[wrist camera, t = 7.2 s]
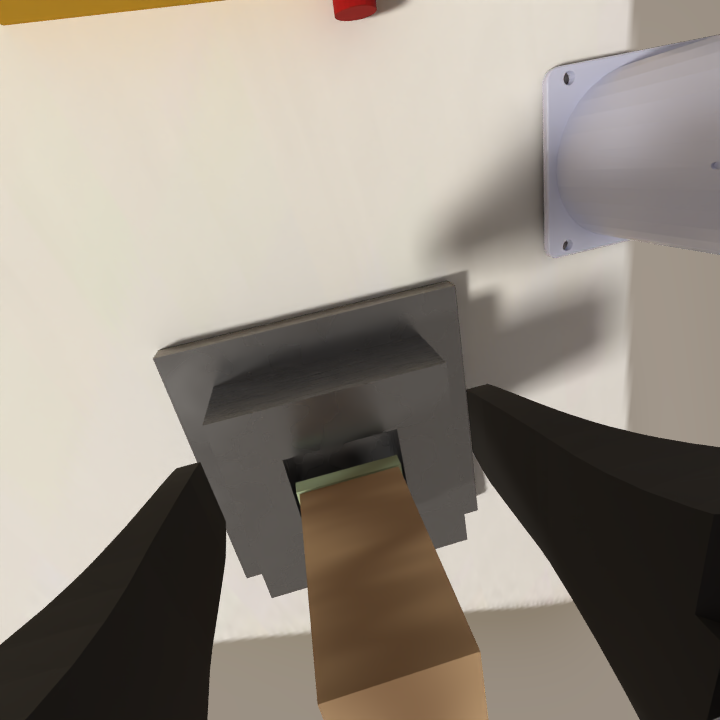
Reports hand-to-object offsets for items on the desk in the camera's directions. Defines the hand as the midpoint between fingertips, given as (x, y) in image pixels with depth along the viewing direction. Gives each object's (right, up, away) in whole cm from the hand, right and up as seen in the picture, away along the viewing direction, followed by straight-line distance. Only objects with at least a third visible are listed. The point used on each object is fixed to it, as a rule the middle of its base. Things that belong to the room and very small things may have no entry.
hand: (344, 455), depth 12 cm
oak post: (0, -4, +7) cm, 8 cm away
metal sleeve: (-1, -2, +12) cm, 12 cm away
